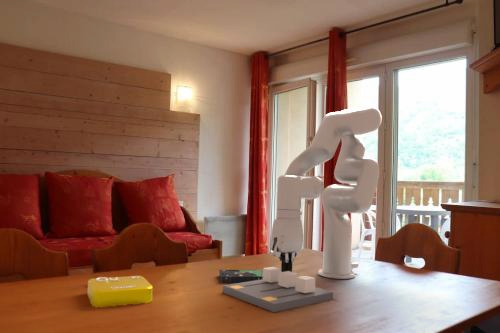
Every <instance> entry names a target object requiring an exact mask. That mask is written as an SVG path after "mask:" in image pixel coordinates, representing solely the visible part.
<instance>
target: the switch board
mask: <svg viewBox="0 0 500 333" xmlns="http://www.w3.org/2000/svg"><path fill="white" fill-rule="evenodd" d="M222 293H223V294H225V295H228V296H231V297H233V298H235V299H239V300H241V301H243V302H246V303H249V304H252V305H254V306H256V307H257V306H258V307H260V308H262V309H264V310H267V311H270V312H272V313H277V312H281V311H285V310H291V309H295V308H300V307H305V306H308V305H313V304H318V303H322V302H326V301H331V300H333V299H334V291H331V290H327V289H323V288H320V287H317V286H315V291H314V292H309V293H302V292H299V291H296V290H295V286H294V287H288V288H286V287H283V286H280V285H278V281H277V282H271V283H270V282H267V281H264V280H263V279H261V280H255V281H248V282H242V283H228V284H223V285H222Z"/></svg>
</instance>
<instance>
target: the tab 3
mask: <svg viewBox="0 0 500 333" xmlns="http://www.w3.org/2000/svg"><path fill="white" fill-rule="evenodd" d="M315 287H316V277H313V276H309V275H302V276H297V277H296V285H295V290H296V291H299V292H302V293H309V292H314V291H315Z"/></svg>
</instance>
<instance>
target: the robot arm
mask: <svg viewBox="0 0 500 333" xmlns="http://www.w3.org/2000/svg"><path fill="white" fill-rule="evenodd" d="M381 113H382V112H381V111H380V110H379V109H378V108H377V107H376V106H375V107H374V106H365V107H354V108H347V109H346V108H345V109H343V110H341V111H335V112H334V111H333V112H329V113H327V114H325V115H324V116H323V118H322V120H321V122H320V124H319V126H318V128H317V131H316V133H315V135H314V137H313V139H312V142H311V143H310V145H309V146H308V147H307V148H306V149H304V150H303V151H302V152H301V153H300V154H299V155H297V156H296V157H295V158H294V159H293V160H292V161H291V162H290V163H289V166H288V167H287V169H286V171H285V173H284V174H282V175H280V176H279V177H278V179H277V184H276V186H277V187H276V188H277V192H276V217H275V219H274V220H273V223H272V226H271V228H272V229H271V234H270V243H269V244H270V250H271V251H273V252H272V256H273V257H277V258H278V259H279V261H280V263H281V265H280V266H281V267H280V269H281V272H285V271H291V272H293V262H295V258H296V256H299V255H301V252H302V249H303V245H304V231H303V230H304V229H303V223H302V213H303V212H302V200H303V199H304V200H305V199H306V200H314V199H318V198H320V197H321V203H322V208H323V209H322V210H323V252H322V254H323V256H322V268H320V269H319V270H318V275H319V276H322V277H324V278H329V279H336V280H346V279H347V280H348V279H349V280H350V279H354V278H355V277H356V273H355V271H353V269H357V268H358V267H359V263H358V262H357V261H355V262H352V237H353V236H352V228H353V226H352V225H353V224H352V221H351V219H350V216H349V213H350V214H359V215H360V214H365V213H367V212H368V211H370V209H371V207H372V204H373V201H374V196H375V194H376V190H377V186H378V183H379V178H380V165H379V162H378V161H377V160H376V159H375V158H373V157H371V156H365V153H366V145H365V142H364V140H363V139H362V137H361V135H364V134H368V133H371V132H374V131H376V130H378V129H379V127H380V126H381V124H382V114H381ZM340 142H341V147H340V149H339V150H340V151H339V154H338V157H337V161H336V165H335V168H334V170H333V171H334V172H333V175H334V179H335V180H336V181H337V182H338V183H340V184H337V183H335V184H330V185H327V186H326V187H325V184H324V182H323V180H322V179H321V178H320V177H318V176H316V175H306V173H307V172H309V171H310V170H311V169H314V168H315V167H317V166H320V165H321V164H325V163H326V162H328V161H329V160H332V159H333V157H334V156H335V153H336V151H337V149H338V146H339V145H340Z"/></svg>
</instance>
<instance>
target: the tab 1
mask: <svg viewBox="0 0 500 333" xmlns="http://www.w3.org/2000/svg"><path fill="white" fill-rule="evenodd" d="M262 270H263V280H264V281H267V282H270V283H271V282H277V281H278V278H279V272H281V268H280V267H279V268H278V267H276V266H271V267H263V268H262Z"/></svg>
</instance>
